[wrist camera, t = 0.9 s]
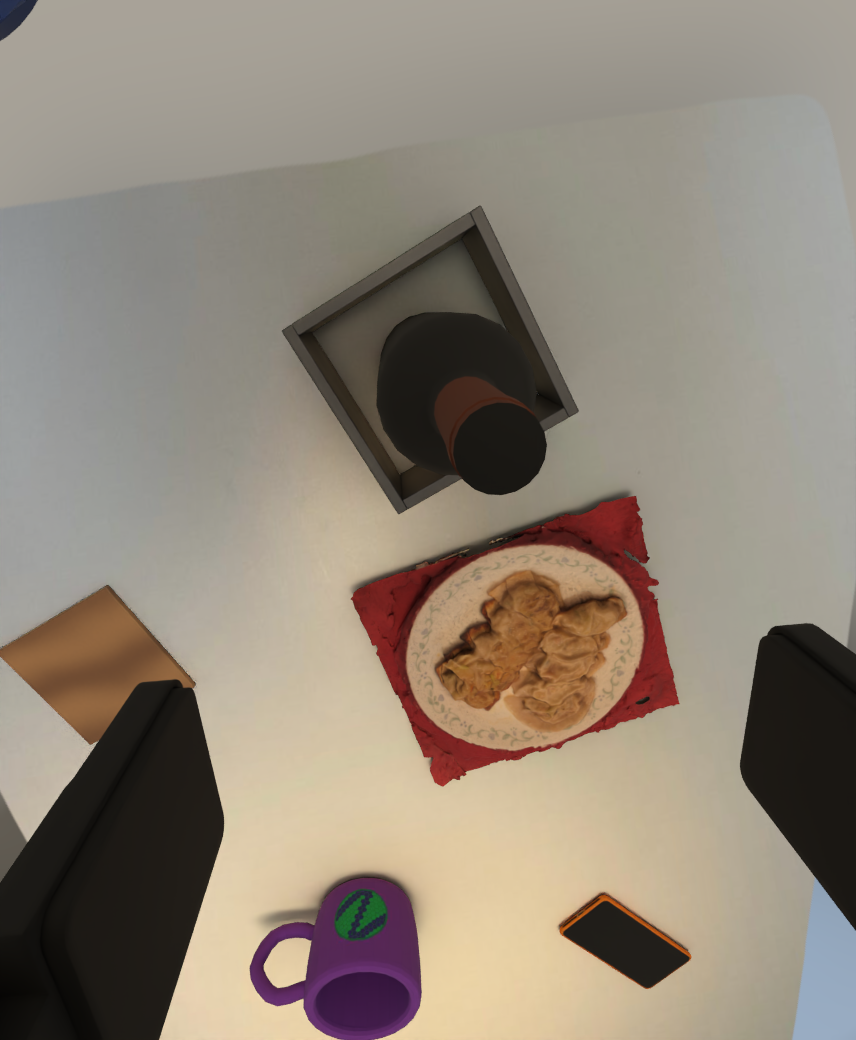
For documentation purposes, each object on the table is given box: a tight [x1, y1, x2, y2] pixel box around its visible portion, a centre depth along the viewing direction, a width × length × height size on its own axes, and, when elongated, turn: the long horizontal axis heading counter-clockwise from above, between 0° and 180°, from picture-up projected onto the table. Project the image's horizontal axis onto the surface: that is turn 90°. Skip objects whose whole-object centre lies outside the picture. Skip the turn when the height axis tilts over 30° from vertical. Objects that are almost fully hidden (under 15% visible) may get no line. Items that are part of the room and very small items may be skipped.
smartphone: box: [560, 895, 691, 989], centre depth 69 cm, size 8×17×1 cm, turn 47°
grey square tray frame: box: [282, 206, 579, 514], centre depth 42 cm, size 15×15×7 cm
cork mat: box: [0, 585, 196, 745], centre depth 52 cm, size 12×12×1 cm
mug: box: [250, 878, 422, 1040], centre depth 59 cm, size 17×11×10 cm, turn 92°
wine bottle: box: [377, 312, 547, 495], centre depth 31 cm, size 8×8×30 cm
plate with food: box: [351, 496, 679, 786], centre depth 53 cm, size 24×26×3 cm
